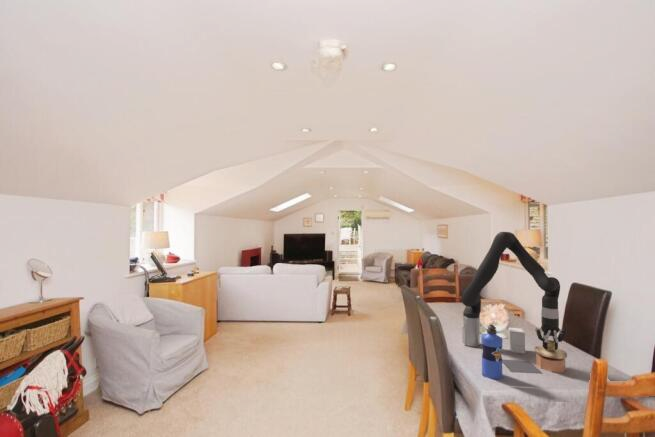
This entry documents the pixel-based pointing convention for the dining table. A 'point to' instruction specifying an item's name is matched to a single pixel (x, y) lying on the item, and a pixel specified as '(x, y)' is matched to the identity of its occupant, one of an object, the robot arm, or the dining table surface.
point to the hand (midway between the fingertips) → (550, 348)
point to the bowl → (550, 363)
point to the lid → (550, 351)
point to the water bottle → (491, 354)
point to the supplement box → (516, 340)
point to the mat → (521, 366)
